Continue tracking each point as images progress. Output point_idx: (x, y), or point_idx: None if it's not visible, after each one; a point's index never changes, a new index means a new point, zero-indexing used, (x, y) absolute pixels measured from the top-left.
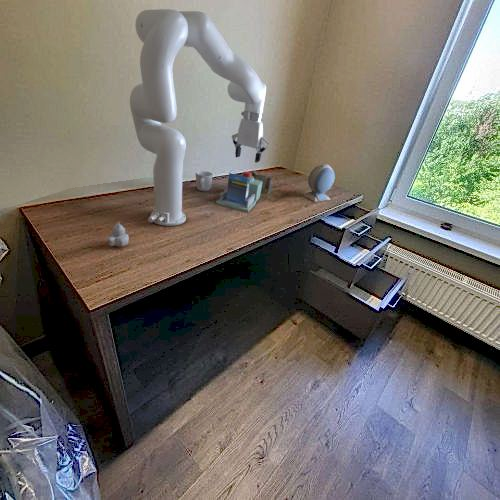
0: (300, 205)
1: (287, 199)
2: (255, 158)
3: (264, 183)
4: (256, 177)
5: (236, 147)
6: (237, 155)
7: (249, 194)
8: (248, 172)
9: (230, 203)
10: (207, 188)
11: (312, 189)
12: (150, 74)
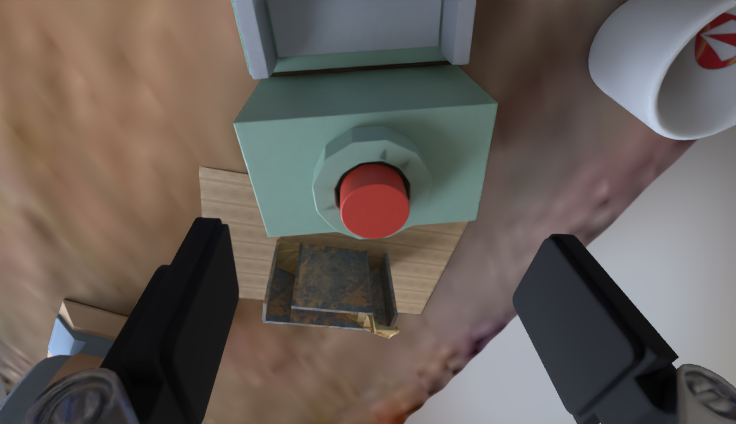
0: (66, 219)
1: (166, 244)
2: (205, 261)
3: (303, 280)
4: (361, 300)
5: (680, 369)
6: (556, 259)
7: (305, 87)
8: (369, 223)
9: None
10: (615, 19)
11: (86, 358)
12: None
